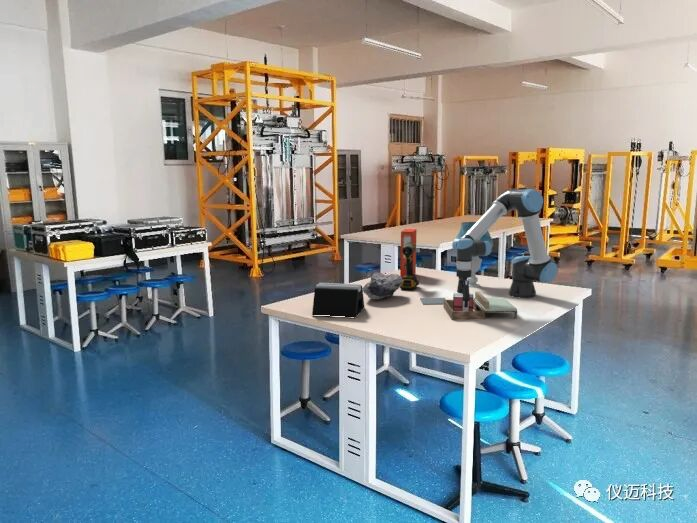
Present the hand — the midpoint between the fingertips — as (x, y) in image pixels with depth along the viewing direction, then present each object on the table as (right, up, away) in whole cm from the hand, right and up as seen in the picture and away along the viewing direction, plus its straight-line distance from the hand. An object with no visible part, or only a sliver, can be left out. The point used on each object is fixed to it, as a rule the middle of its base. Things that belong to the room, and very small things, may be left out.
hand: (462, 309), depth 289 cm
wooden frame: (+8, -2, 0) cm, 8 cm away
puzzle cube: (0, -2, 0) cm, 2 cm away
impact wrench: (-22, +8, +62) cm, 66 cm away
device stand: (-64, -2, +7) cm, 64 cm away
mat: (-11, +2, +26) cm, 28 cm away
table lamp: (+19, +9, +66) cm, 70 cm away
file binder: (-17, +14, +100) cm, 103 cm away
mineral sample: (-39, +3, +35) cm, 52 cm away
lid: (+16, +3, 0) cm, 16 cm away
